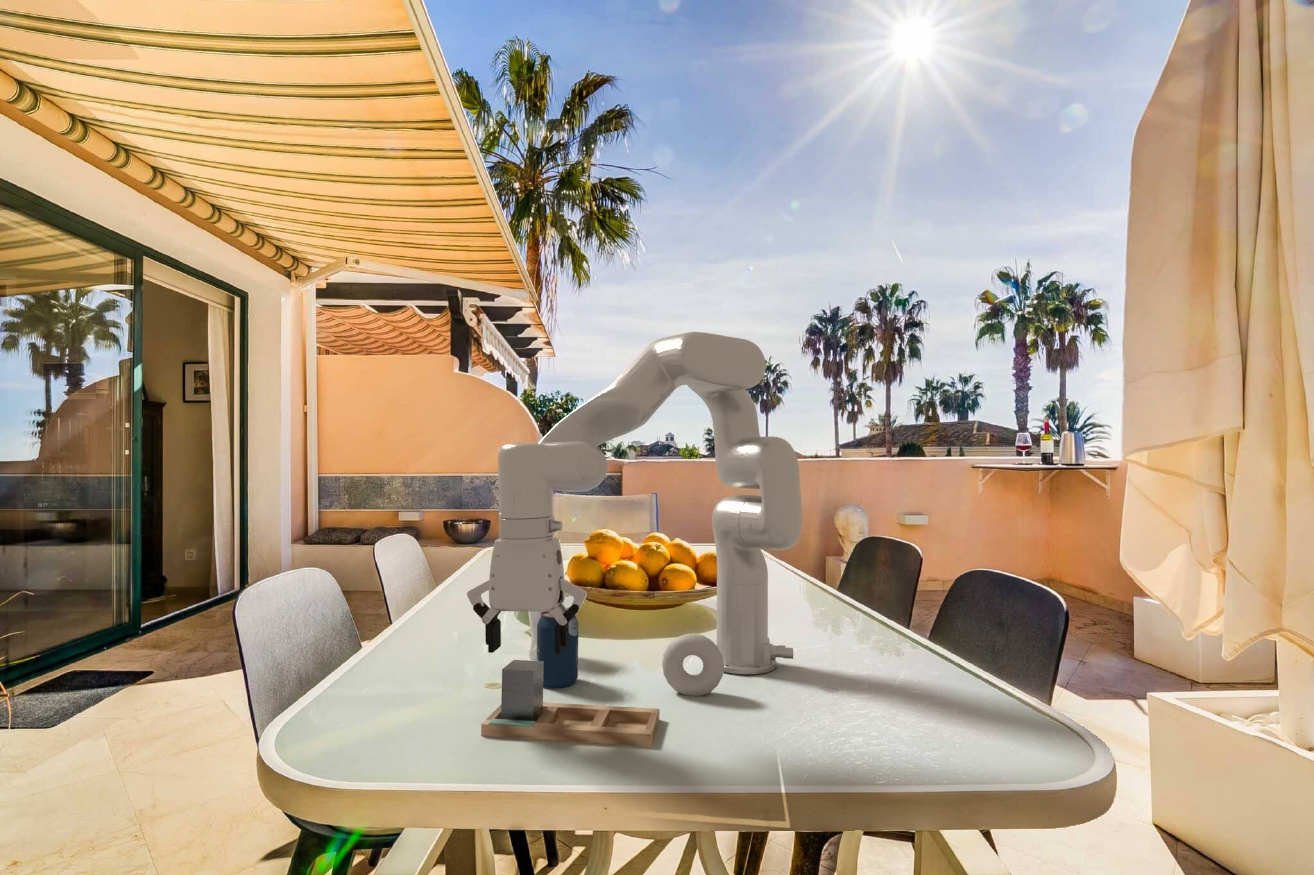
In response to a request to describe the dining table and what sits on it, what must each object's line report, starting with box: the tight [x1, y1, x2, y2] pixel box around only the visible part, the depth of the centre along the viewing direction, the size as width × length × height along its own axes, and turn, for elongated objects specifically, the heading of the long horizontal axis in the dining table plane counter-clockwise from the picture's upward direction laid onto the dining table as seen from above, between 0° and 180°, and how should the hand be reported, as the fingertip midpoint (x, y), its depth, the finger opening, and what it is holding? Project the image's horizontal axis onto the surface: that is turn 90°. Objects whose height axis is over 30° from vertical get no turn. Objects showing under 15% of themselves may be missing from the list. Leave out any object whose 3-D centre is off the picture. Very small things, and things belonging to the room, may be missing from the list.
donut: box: [661, 632, 724, 697], centre depth 103 cm, size 10×4×10 cm, turn 82°
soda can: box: [535, 611, 580, 689], centre depth 108 cm, size 7×7×12 cm
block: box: [500, 659, 544, 723], centre depth 90 cm, size 4×4×8 cm
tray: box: [480, 701, 661, 748], centre depth 89 cm, size 23×9×2 cm, turn 83°
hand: (527, 650), depth 91 cm, fingers open, 9 cm apart
